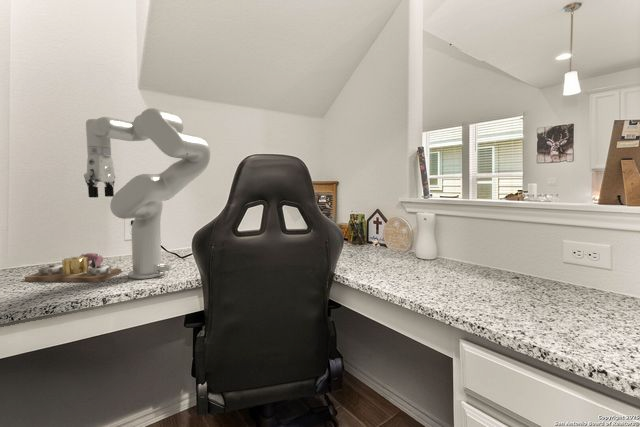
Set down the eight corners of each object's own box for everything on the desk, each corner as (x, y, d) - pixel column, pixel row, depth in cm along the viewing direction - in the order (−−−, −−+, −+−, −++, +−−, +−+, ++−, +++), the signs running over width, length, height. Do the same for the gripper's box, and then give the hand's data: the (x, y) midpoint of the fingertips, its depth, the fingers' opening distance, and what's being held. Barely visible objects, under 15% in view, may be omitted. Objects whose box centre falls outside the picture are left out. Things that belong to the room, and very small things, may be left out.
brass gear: (92, 269, 120) (92, 256, 119) (78, 275, 113) (77, 260, 112) (73, 269, 120) (72, 256, 119) (57, 274, 113) (56, 260, 112)
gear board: (121, 272, 122) (120, 256, 122) (100, 282, 111) (99, 263, 110) (53, 271, 122) (52, 255, 122) (25, 281, 110) (23, 262, 110)
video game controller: (101, 271, 129) (106, 254, 132) (93, 269, 125) (99, 251, 127) (79, 270, 130) (84, 253, 132) (70, 268, 126) (76, 251, 128)
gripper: (94, 150, 114) (97, 197, 116) (122, 154, 131) (124, 196, 133) (73, 150, 114) (76, 197, 115) (103, 154, 131) (105, 196, 132)
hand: (101, 196), depth 124 cm, fingers open, 9 cm apart
